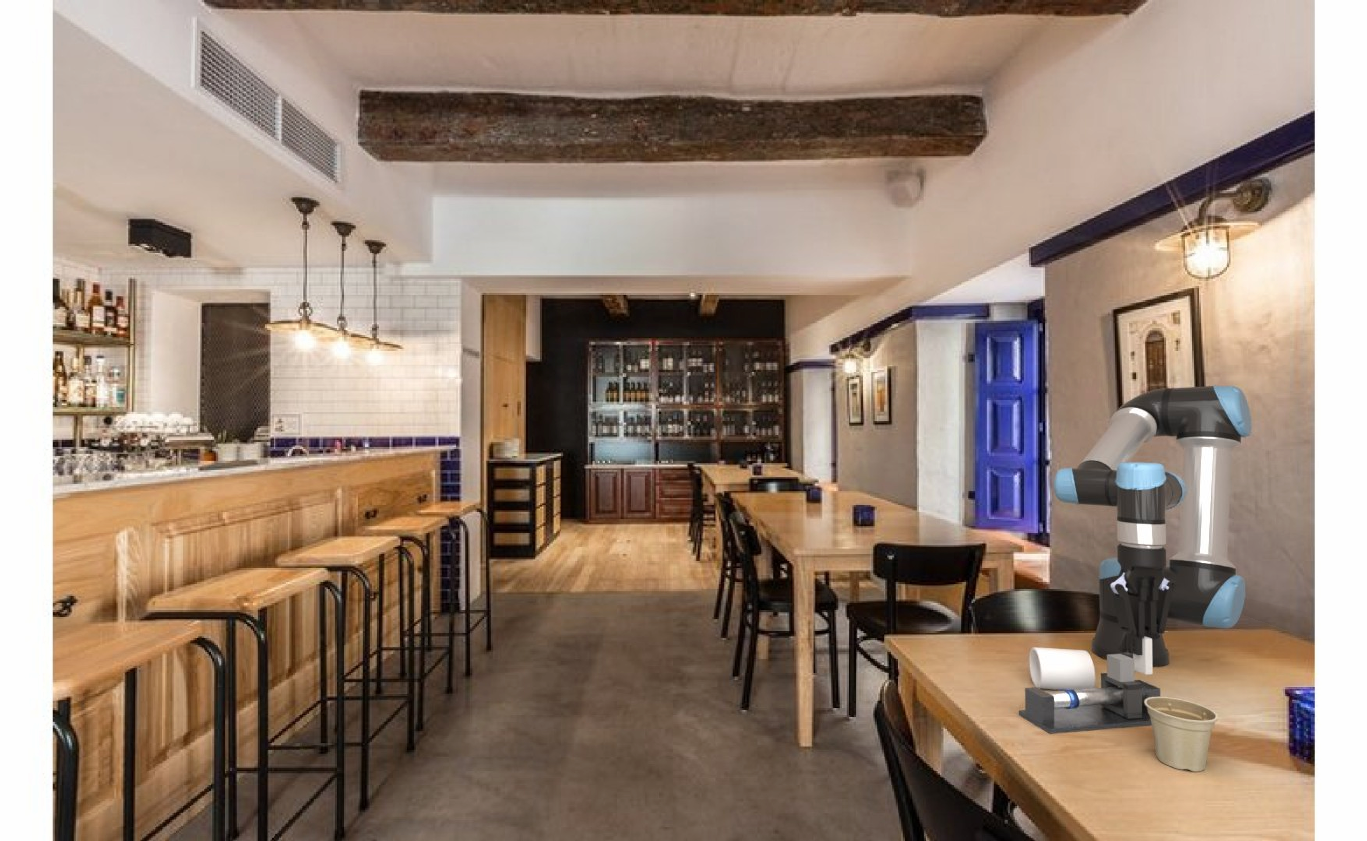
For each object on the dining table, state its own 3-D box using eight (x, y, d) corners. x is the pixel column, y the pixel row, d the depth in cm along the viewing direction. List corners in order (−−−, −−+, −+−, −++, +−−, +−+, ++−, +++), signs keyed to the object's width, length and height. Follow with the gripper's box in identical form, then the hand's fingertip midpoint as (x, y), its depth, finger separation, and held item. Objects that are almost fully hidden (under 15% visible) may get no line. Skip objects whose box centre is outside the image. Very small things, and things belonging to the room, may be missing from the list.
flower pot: (1220, 761, 105) (1220, 707, 105) (1217, 784, 98) (1216, 726, 98) (1149, 743, 111) (1148, 691, 111) (1140, 763, 104) (1140, 708, 104)
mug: (1096, 698, 130) (1095, 657, 131) (1041, 694, 132) (1040, 654, 133) (1073, 676, 142) (1072, 639, 142) (1023, 673, 144) (1022, 636, 144)
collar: (1114, 704, 125) (1114, 651, 125) (1142, 717, 119) (1141, 661, 119) (1101, 705, 124) (1100, 651, 125) (1127, 718, 118) (1127, 662, 119)
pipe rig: (1131, 705, 127) (1131, 676, 127) (1169, 723, 119) (1168, 691, 119) (1018, 714, 122) (1018, 683, 122) (1049, 733, 114) (1049, 700, 115)
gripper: (1153, 540, 128) (1154, 663, 127) (1095, 542, 126) (1096, 666, 125) (1189, 547, 121) (1191, 676, 120) (1128, 548, 118) (1129, 681, 118)
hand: (1142, 671), depth 123 cm, fingers closed
